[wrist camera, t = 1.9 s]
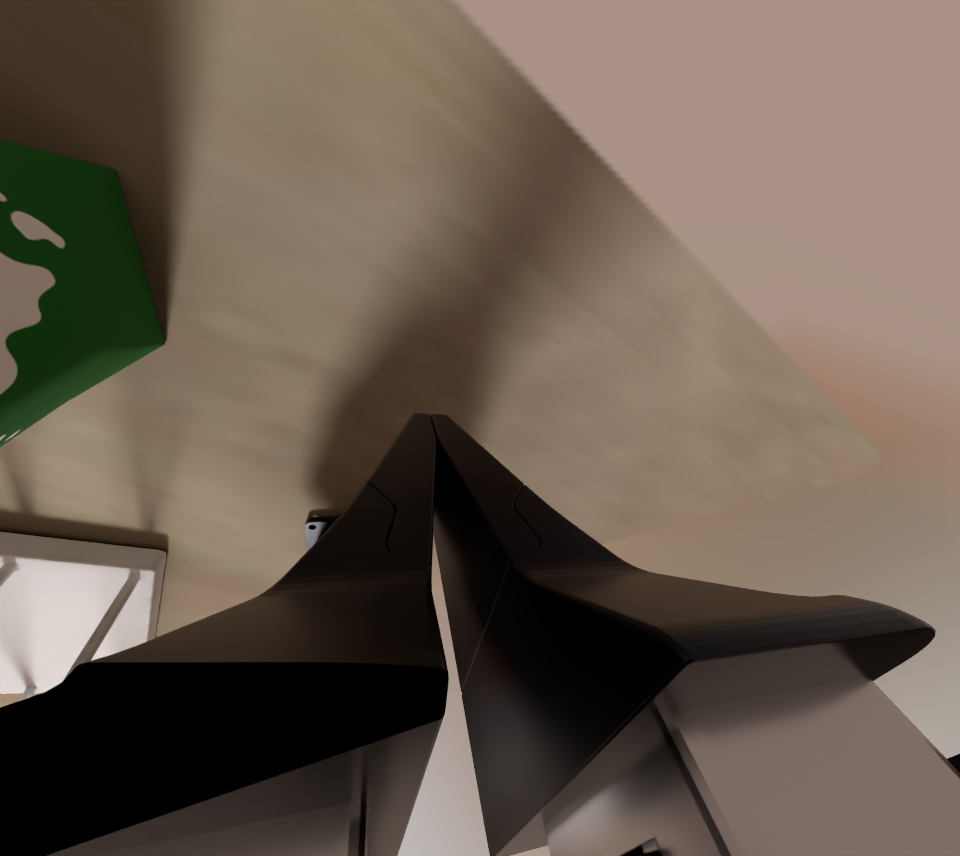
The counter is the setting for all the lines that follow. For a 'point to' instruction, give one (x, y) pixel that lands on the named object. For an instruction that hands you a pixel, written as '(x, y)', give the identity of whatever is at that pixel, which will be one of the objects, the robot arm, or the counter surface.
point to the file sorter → (71, 606)
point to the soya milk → (65, 284)
